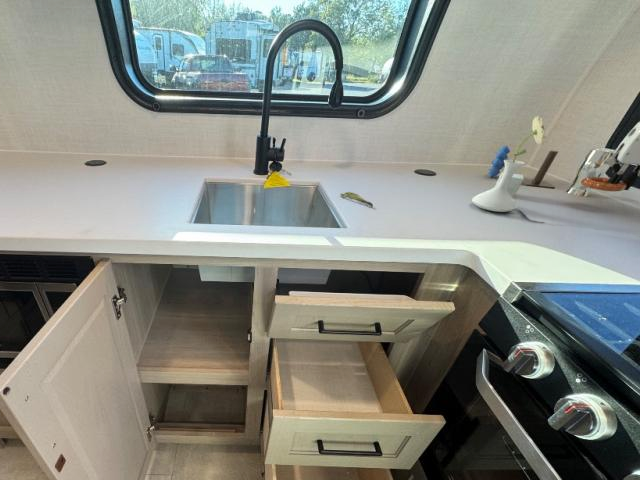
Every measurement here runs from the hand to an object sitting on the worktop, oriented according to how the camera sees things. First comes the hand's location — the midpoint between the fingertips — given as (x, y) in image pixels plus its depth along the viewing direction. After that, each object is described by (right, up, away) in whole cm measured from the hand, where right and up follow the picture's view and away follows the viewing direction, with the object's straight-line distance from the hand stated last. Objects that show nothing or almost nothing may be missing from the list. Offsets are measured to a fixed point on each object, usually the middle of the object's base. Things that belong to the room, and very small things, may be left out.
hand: (616, 187), depth 93 cm
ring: (-3, +1, +1) cm, 4 cm away
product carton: (-22, +2, +15) cm, 27 cm away
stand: (+1, +10, +27) cm, 29 cm away
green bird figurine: (-74, -2, +8) cm, 75 cm away
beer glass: (+6, +3, +17) cm, 19 cm away
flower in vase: (-33, -5, +6) cm, 34 cm away
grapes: (-9, +16, +35) cm, 39 cm away
